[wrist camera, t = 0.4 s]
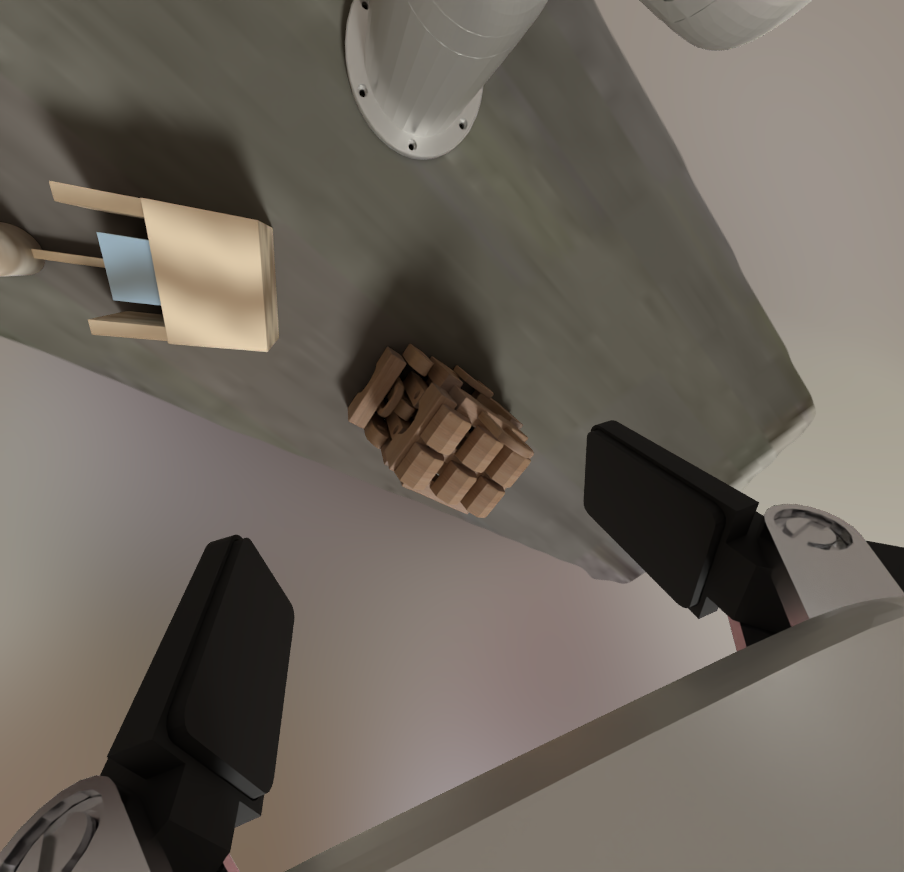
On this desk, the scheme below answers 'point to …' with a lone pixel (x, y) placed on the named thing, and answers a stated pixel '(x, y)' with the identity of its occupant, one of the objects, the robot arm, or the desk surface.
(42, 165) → the desk surface
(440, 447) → the wooden puzzle
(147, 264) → the block
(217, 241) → the birch shelf lane
